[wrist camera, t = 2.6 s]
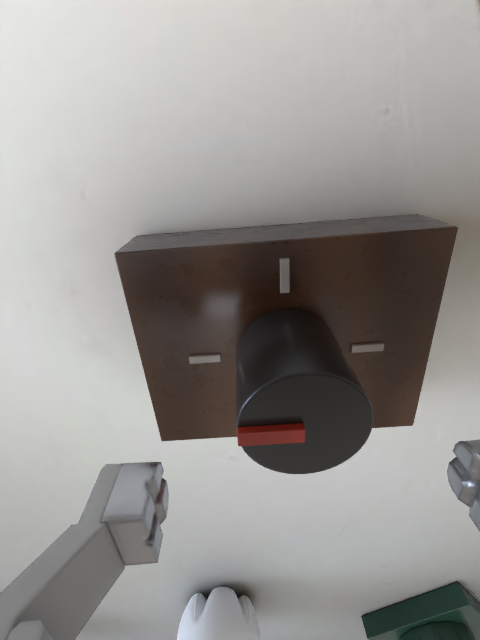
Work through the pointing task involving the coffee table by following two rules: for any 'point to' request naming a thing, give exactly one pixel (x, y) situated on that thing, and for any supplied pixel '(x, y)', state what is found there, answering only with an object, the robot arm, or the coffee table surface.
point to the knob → (297, 395)
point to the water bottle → (219, 617)
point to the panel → (284, 293)
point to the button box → (428, 617)
